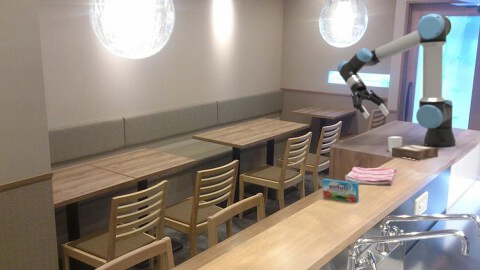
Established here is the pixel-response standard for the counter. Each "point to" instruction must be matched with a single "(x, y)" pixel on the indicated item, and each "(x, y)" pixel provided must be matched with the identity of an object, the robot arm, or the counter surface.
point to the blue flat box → (340, 190)
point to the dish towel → (372, 176)
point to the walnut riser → (415, 152)
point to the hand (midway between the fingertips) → (377, 115)
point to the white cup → (394, 142)
